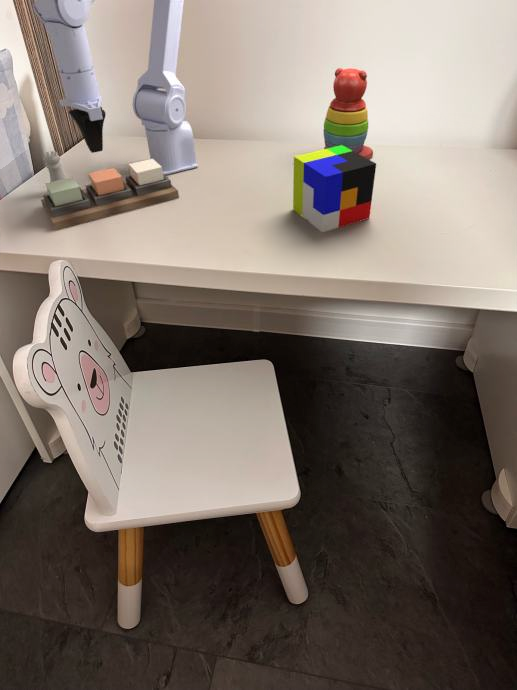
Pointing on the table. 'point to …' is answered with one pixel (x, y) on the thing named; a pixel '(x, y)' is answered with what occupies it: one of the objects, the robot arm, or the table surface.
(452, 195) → the table surface
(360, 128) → the stacking bear
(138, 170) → the cream button
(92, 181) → the terracotta button
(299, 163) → the puzzle toy
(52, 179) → the rook chess piece
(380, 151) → the table surface
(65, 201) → the sage button
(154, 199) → the button board
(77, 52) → the robot arm
